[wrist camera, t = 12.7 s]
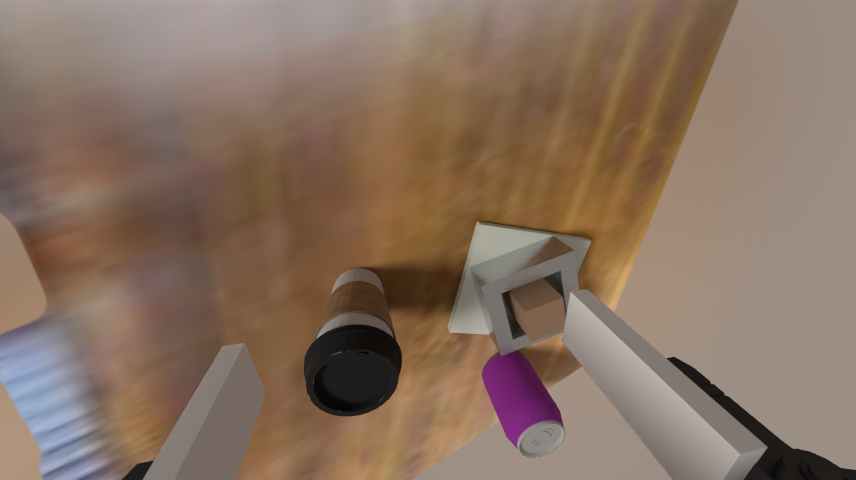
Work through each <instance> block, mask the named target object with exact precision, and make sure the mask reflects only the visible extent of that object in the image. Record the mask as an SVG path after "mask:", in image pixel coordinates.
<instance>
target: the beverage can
mask: <svg viewBox="0 0 856 480" xmlns="http://www.w3.org/2000/svg"><path fill="white" fill-rule="evenodd" d="M482 378H483V381H484V385H485V387H486V389H487V392H488V394H489V396H490V399H491V401H492V404H493V406H494V408H495V411H496V413H497V415H498V418H499V420H500V422H501V425H502V427H503V429H504V432H505V434H506V437H507V438H508V439H509V440H510V441H511V442H512V443H513V444H514V446H515V447H516V448H517V449H518V450H519V452H520V453H521V454H522V455H523V456H526V457H540V456H543V455H546V454H548V453H550V452H551V451H553V450H555V449H556V448H557V447H558V446H559V445H560V444H561V443H562V442H563V440H564V437H565V429H564V427H563V422H562V418H561V414H560V410H559V409H558V407H557V405H556V404H555V402H554V401H553V399H552V398H551V396H550V395H549V393H548V391H547V390H546V388H545V387H544V385H543V384H542V382H541V380H540V379H539V377H538V376H537V374H536V373H535V371H534V369H533V368H532V366H531V365H530V363H529V362H528V360H527V359H526V358H525V357H524V355H522V354H521V353H519V352H511V353H509V354H506V355H503V356H501V355H500V353H498V354H496V355H494V356H493V357H491V358H490V359H489V360H488V361H487V363H486V364H485V366H484V368H483V371H482Z"/></svg>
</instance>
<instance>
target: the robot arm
mask: <svg viewBox="0 0 856 480" xmlns="http://www.w3.org/2000/svg"><path fill="white" fill-rule="evenodd" d="M562 341H563V343H564V344H565V345H566V346H567V348H568V349H569V350H570V351H571V353H572V354H573V355H574V356H575V358H576V359H577V360H578V361H579V363H580V364H581V365H582V366H583V368H584V369H585V370H586V371H587V372H588V374H589V375H590V377H591V378H592V379H593V380H594V381H595V383H596V384H597V385H598V387H599V388H600V389H601V390H602V391H603V393H604V394H605V395H606V397H607V398H608V399H609V400H610V402H611V403H612V404H613V405H614V407H615V408H616V409H617V410H618V412H619V413H620V414H621V415H622V417H623V418H624V419H625V421H626V422H627V423H628V424H629V426H630V427H631V428H632V429H633V431H634V432H635V433H636V434H637V436H638V437H639V438H640V439H641V441H642V442H643V443H644V444H645V446H646V447H647V448H648V449H649V451H650V452H651V453H652V454H653V455H654V457H655V458H656V459H657V461H658V462H659V463H660V464H661V466H662V467H663V468H664V469H665V471H666V472H667V473H668V475H669V476H670V477H671V478H672V480H856V470H851V469H844V468H840V467H838V466H837V465H835V464H833V463H832V462H830V461H829V460H827V459H825V458H823V457H821V456H818V455H816V454H814V453H812V452H809V451H804V450H800V449H793V448H791V447H789V446H788V445H787V444H786V443H784V442H783V441H781V440H780V439H779V438H778V437H777V436H775V435H774V434H773V433H772V432H771V431H769V430H768V429H767V428H766V427H765V426H763V425H762V424H761V423H760V422H759V421H757V420H756V419H755V418H754V417H753V416H751V415H750V414H749V413H748V412H747V411H745V410H744V409H743V408H742V407H740V406H739V405H738V404H737V403H736V402H734V401H733V400H732V399H731V398H730V397H728V396H725V395H724V392H722V391H721V390H720V389H718V387H716V386H715V385H714V384H711V383H710V381H709V380H708V379H707V378H705V377H704V376H703V375H702V374H701V373H699V372H698V371H697V370H696V369H695V368H693V367H691V366H690V365H688V364H686V363H684V362H682V361H681V360H679V359H677V358H675V357H671V358H665V357H664V356H663V355H662V354H661V353H659V352H658V351H657V350H656V349H655V348H654V347H653V346H651V345H650V344H649V343H648V342H646V340H645V339H643V338H642V337H641V336H640V335H639V334H638V333H637V332H635V331H634V330H633V329H632V328H631V327H630V326H628V325H627V324H626V323H625V322H624V321H623V320H622V319H621V318H619V317H618V316H617V315H616V314H615V313H614V312H613V311H611V310H610V309H609V308H608V307H607V306H606V305H605V304H603V303H602V302H601V301H600V300H599V299H598V298H597V297H595V296H594V295H593V294H592V293H591V292H590V291H588V290H587V289H585V290H578V291H572V292H570V298H569V303H568V309H567V315H566V320H565V326H564V331H563V337H562ZM265 395H266V393H265V390H264V388H263V386H262V383H261V381H260V378H259V376H258V374H257V371H256V369H255V366H254V364H253V362H252V359H251V357H250V354H249V352H248V350H247V347H246V345H245V343H241V344H235V345H228V346H223V347H222V348H221V350H220V352H219V353H218V355H217V357H216V358H215V360H214V362H213V363H212V365H211V367H210V368H209V370H208V372H207V373H206V375H205V377H204V378H203V380H202V382H201V383H200V385H199V387H198V388H197V390H196V392H195V393H194V395H193V397H192V398H191V400H190V402H189V403H188V405H187V407H186V408H185V410H184V412H183V413H182V415H181V417H180V418H179V420H178V422H177V423H176V425H175V427H174V428H173V430H172V432H171V433H170V435H169V437H168V438H167V440H166V442H165V443H164V445H163V447H162V448H161V450H160V452H159V453H158V455H157V457H156V458H155V460H154V461H149V462H144V463H139V464H137V465H136V466H135V467H134V468H133V469H132V470H131V471H130V472H129V473H128V474H127V475H126V476H125V477H124V478H123V479H122V480H235V479H236V476H237V474H238V471H239V468H240V465H241V462H242V459H243V457H244V454H245V451H246V448H247V445H248V443H249V440H250V437H251V434H252V431H253V429H254V426H255V423H256V420H257V417H258V414H259V412H260V409H261V406H262V403H263V400H264V398H265Z"/></svg>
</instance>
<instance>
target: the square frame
mask: <svg viewBox="0 0 856 480" xmlns="http://www.w3.org/2000/svg"><path fill="white" fill-rule="evenodd" d="M469 269H470V272H471V275H472V279H473V282H474V285H475V289H476V292H477V295H478V299H479V302H480V305H481V309H482V312H483V315H484V319H485V322H486V325H487V329H488V332H489V334H490V336H491V338H492V340H493V342H494V344H495V345H496V347H497V349H498V351H499V353H500V355H501V356H503V355H506V354H509V353H511V352H514V351H516V350H519V349H521V348H524V347H526V346H529V345H532V344H534V343H537V342H539V341H542V340H544V339H547V338H549V337H552V336H554V335H557V334H560V333H562V332H563V331H564V329H562V330H560V331H557V332H555V333H552V334H550V335H547V336H544V337H542V338H539V339H537V340H534V341H532V342H531V340H530V339H529V338H528V336H527V335H526V333H525V332H524V331H523V329H522V328H521V326H520V325H519V323H518V322H517V321H516V319H515V318H514V316H513V315H512V314H511V313H510V314H507V315H506V311H505V307H504V303H503V299H502V295H501V293H504V292H506V291H509V290H512V289H514V288H517V287H519V286H522V285H525V284H527V283H530V282H532V281H535V280H538V279H540V278H543V277H545V281H546V282H548V283H549V284H550V285H551V286H552V287H553V288H554V289H555V290H556V291H557V292H558V293H559V294H560V295H561V296H562V297H563V301H564V308H565V314H566V315H567V309H568V303H569V298H570V292H572V291H578V290H579V283H578V275H577V266H576V257H575V250H573V249H572V248H571V247H569V246H568V245H566V244H565V243H563V242H562V241H560V240H559V239H557V238H556V237H554V236H551V237H548V238H545V239H543V240H540V241H537V242H535V243H532V244H529V245H527V246H524V247H522V248H519V249H516V250H514V251H511V252H508V253H506V254H503V255H500V256H498V257H495V258H493V259H490V260H487V261H485V262H482V263H479V264H477V265H474V266H471V267H469Z"/></svg>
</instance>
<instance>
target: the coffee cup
mask: <svg viewBox="0 0 856 480" xmlns="http://www.w3.org/2000/svg"><path fill="white" fill-rule="evenodd" d="M401 366H402V353H401V350H400V347H399V345H398V343H397V341H396V336H395V333H394V329H393V325H392V321H391V318H390V314H389V310H388V306H387V302H386V299H385V295H384V291H383V286H382V283H381V280H380V279H379V277H378V276H377V275H376V274H375V273H373V272H372V271H370V270H367V269H363V268H354V269H350V270H348V271H345V272H344V273H342V274H341V275H340V276H339V277H338V279H337V280H336V282H335V285H334V288H333V291H332V294H331V296H330V298H329V301H328V303H327V306H326V309H325V311H324V314H323V316H322V319H321V321H320V324H319V327H318V329H317V332H316V334H315V337H314V340H313V343H312V344H311V346H310V347H309V349H308V350H307V353H306V356H305V361H304V375H305V379H306V389H307V394H308V396H309V398H310V400H311V401H312V402H313V404H314V405H315V406H317V407H318V408H319V409H321V410H323V411H325V412H326V413H329V414H333V415H337V416H356V415H361V414H365V413H368V412H370V411H372V410H375V409H377V408H378V407H380V406H381V405H383V404H384V403H385V402H386V401H387V400H388V399H389V398H390V397H391V396H392V394H393V393H394V391H395V389H396V387H397V384H398V377H399V374H400V370H401Z"/></svg>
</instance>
